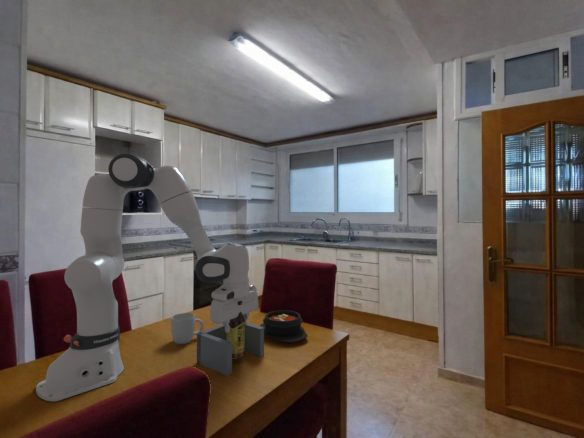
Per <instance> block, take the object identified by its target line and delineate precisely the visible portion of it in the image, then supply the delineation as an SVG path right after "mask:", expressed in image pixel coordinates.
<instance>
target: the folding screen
mask: <svg viewBox="0 0 584 438" xmlns="http://www.w3.org/2000/svg"><path fill="white" fill-rule="evenodd" d="M244 352H245V353H249V354H252V355H254V356H258V357H260V358H261V357H262V356H264V355H265V336H264V327H261V326H260V325H257V324H253V323H249V322H247V325H246V326H245V344H244ZM196 363H197V364H199V365H201V366H205V367H206V368H208V369H211V370H213V371H215V372H218V373H220V374H222V375H225V376H230V375H231V374H232V373H233V358H232V342H229V341H227V333H226V332H225V327H224V325H223V323H221V324H217V325H216V326H214V327H211V328H208V329H205V330H202V331H201V332H200V333H198V334H197V335H196Z"/></svg>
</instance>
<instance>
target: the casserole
mask: <svg viewBox="0 0 584 438" xmlns="http://www.w3.org/2000/svg"><path fill="white" fill-rule="evenodd" d="M303 321H304V320H303V319H302V317H301V314H300V313H298V312H297V311H293V310H286V309H285V310H284V309H280V310H274V311H270V312H267V313H265V316H264V318H263V319H262V322H263V323H261V324H260V325H259V326H261V327H264V337H266V338H270V339H272V340H278V341H281V342H282V343H296V342H299V341H300V342H301V341H303V340H305V339H306V338H308V334H307V332H306V330H305V328H304V326H302V323H303Z"/></svg>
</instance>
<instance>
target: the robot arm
mask: <svg viewBox="0 0 584 438" xmlns="http://www.w3.org/2000/svg"><path fill="white" fill-rule="evenodd" d="M147 190H150V191H151V192H152V193H153V195H154V197H156V198H155V199H156V200H157V202H158V204H159V205H160V208H161V210H162V212H163V213H164V215H165V216H166V218H167V220H169V222H171V223H172V224H173V225H175V226H177V228H179V229H181V230H182V231H183V232H184V233H185V235H186V236H187V239H189V241H190V244H191V246H192V248H193V249H194V251H195V253H196V257H197V262H196V264H195V266H194V271H195V275H196V276H197V279H199V280H200V281H202V282H204V283H215V282H220V281H223V284H221V286H219V287H218V288H216V289H215V290H213V291H212V292H211V298H212V299H213V300H212V301H211V303H210V313H209V314H210V321H211V322H212V323H214V324H217V325H221V324H223V325H224V327H225V332H226V333H229V332H231V331H232V330H231V329H232V327H230V326H229V324H228V323H230V320H231V319H234V318H236V317H238V314H239V313H240V312H241V313H242V314H243V316H244V319H245V326H246V325H247V323H248V319H249V317H250V313H252V312H254V311H257V310H258V308H259V295H258V292H257V291H258V290H257V286H256V285H254V284H251V285H250V279H249V270H250V258H249V257H250V256H249V251H248V248H247V247H246V246H245V245H243V244H240V243H235V242H227V243H226V244H224V245H223V246H221V247H219V248H216V247H214V245H213V244H212V242H211V239H210V238H209V236H208V234H207V232H206V230H205V228H204V226H203V224H202V220H201V216H200V210H199V207H198V203H197V201H196V197H195V195H194V193H193V191H192V189H191V187H190V185H189V184H188V182H187V180H186V178H185V177H184V176H183V174H182V173H181V172H180V169H178V168H177V167H175V166H173V165H162V166H160V167H154V166H153V165H152V164H151V163H150V162H149V161H148V160H146V159H145V158H143V157H141V156H139V155H136V154H134V153H130V152H129V153H127V152H124V153H120V154H118V155H115V156H114V157H113V158H112V159H111V160H110V162H109V164H108V173H98V174H94V175H92V176H90V178H89V179H88V181H87V184H86V187H85V190H84V192H83V193H84V194H83V198H82V206H81V207H82V208H81V219H80V235H81V236H82V239H83V244H84V249H85V251H84V252H85V254H84V255H82V256H79V257H78V258H76V259H74V261H72V262H71V263H70V264H69V265H68V267H66V269H65V272H64V275H63V276H64V277H63V279H64V282H65V284H66V285H67V287H68V288H69V289H71V292H72V295H73V299H74V302H75V308H76V333H75V334H74V335H73V336H72V335H70V334H66V335H65V336H64V337H63V341H64V342H66V343H67V344H69V347H68V348H67V349H66V350H65V351H64V352H63V353H62V354H60V355H59V356H58V357H57V358H56V359H55V360H53V362H51V363H50V364H49V366H48V368H47V370H46V375H45V379H43V380H42V381H40V382H38V383H37V384H36V387H35V393H36V395H37V396H38V397H39V398H40V399H42V400H44V401H47V402H58V401H62V400H64V399H68V398H70V397H74V396H76V395H77V396H78V395H80V394H83V393H86V392H89V391H92V390H95V389H98V388H100V387H103V386H107V385H109V384H112V383H114V382H115V381H116V380H117V379H118V377H119V375H120V374H122V372H123V371H124V369H125V366H124V364H123V361H122V356H121V350H120V345H119V344H120V343H119V342H120V340H121V339H120V336H121V331H120V325H119V304H118V303H119V302H118V300H117V299H116V296H115V294H114V289H113V281H114V280H116V279H117V278H119V276H120V275H121V273H122V272H123V270H124V269H125V259H124V255H123V253H124V252H123V245H122V244H123V243H122V224H123V223H122V222H123V211H124V201H125V197H126V195H127V194H132V193H133V194H134V193H137V192H144V191H147ZM238 301H242V304H241V305H239V306H238V304H237V303H238Z"/></svg>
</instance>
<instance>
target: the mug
mask: <svg viewBox="0 0 584 438" xmlns="http://www.w3.org/2000/svg"><path fill="white" fill-rule="evenodd" d="M195 317H196V316H195V314H194V313H192V312H183V313H177V314H174V315H172V316H171V320H170V322H171V323H170V327H171V336H172V339H173V342H174V344H176V345H185V344H188V343H190V342H191V341H192V340H193V337H194V336H197V334H198V333H200V332H203V331H204V328H205V327H204V326H205V325H204V322H203V320H202V319H200V318H195ZM196 322H198V323H200V328H199V329H198V330H197V331H195V323H196Z"/></svg>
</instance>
